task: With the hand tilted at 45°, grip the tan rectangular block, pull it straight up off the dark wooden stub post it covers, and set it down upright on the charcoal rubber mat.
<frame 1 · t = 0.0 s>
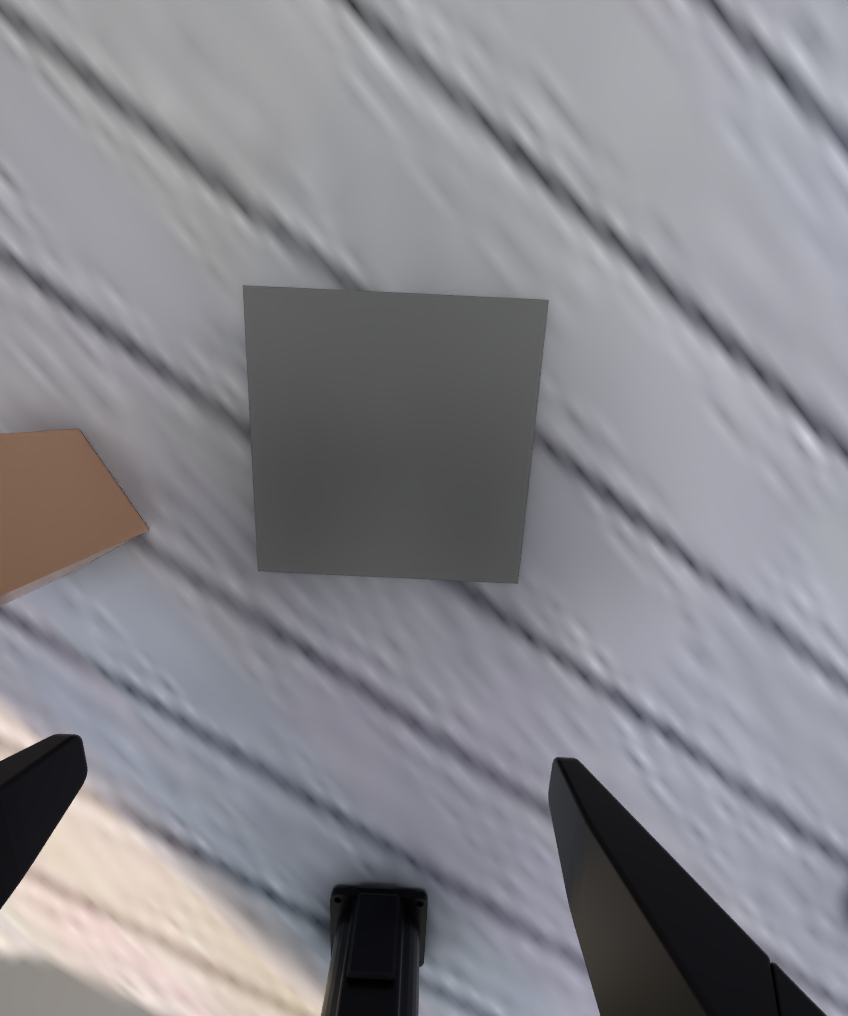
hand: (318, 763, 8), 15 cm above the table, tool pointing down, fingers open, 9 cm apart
tan rectangular block: (69, 506, 22), on the table
rubber mat: (392, 445, 21), on the table
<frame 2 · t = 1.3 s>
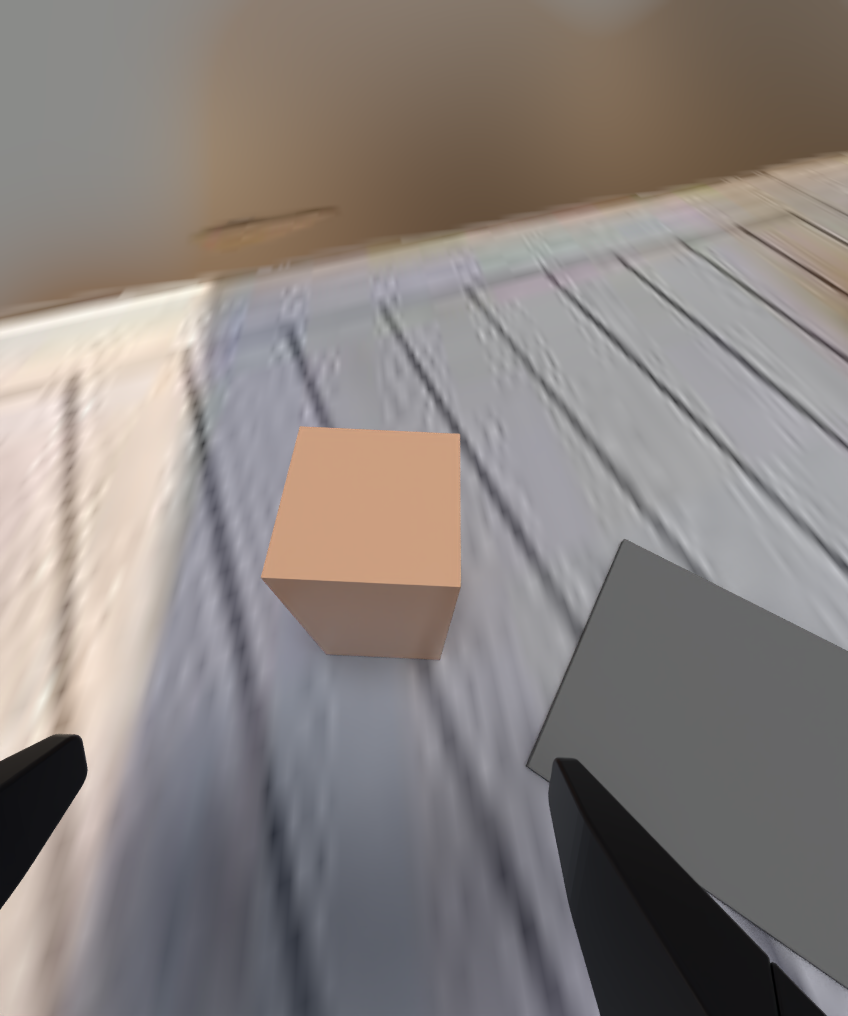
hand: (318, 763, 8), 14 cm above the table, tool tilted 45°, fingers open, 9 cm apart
tan rectangular block: (387, 601, 23), on the table
rubber mat: (711, 715, 21), on the table
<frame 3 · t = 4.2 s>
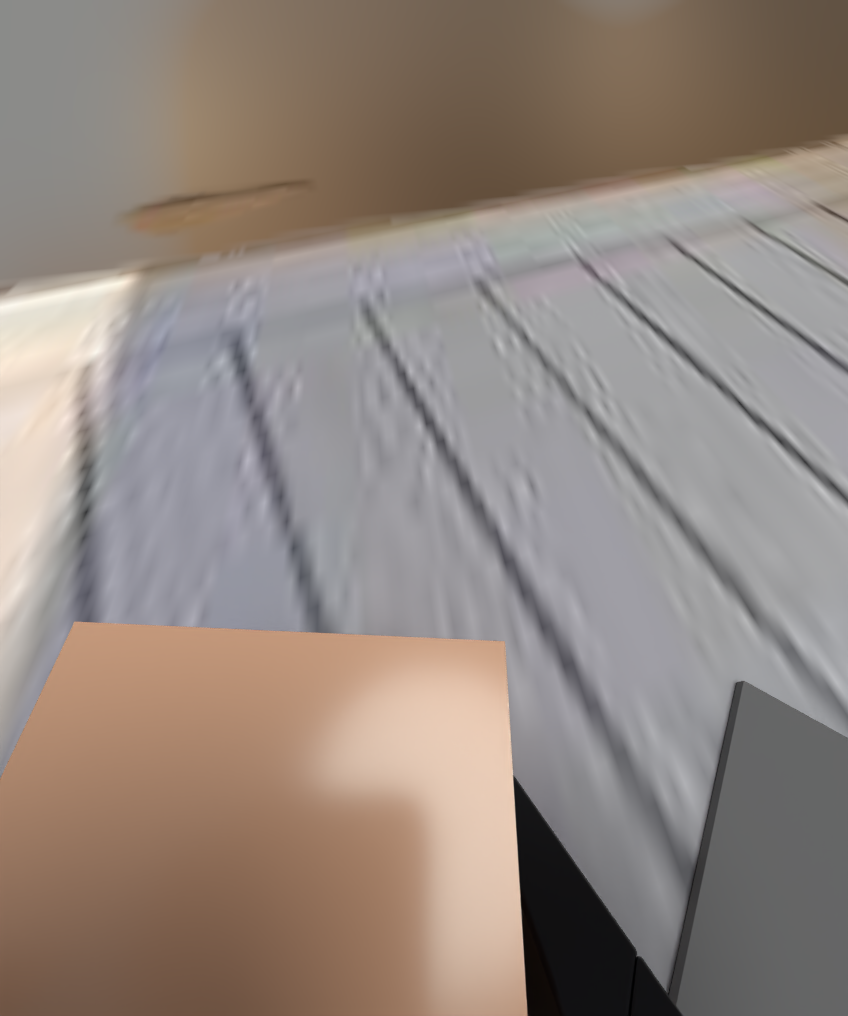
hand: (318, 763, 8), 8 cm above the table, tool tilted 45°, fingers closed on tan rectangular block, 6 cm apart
tan rectangular block: (355, 809, 14), on the table, touching gripper
when the fingers open (9 cm above the table, at t = 8.7 s): tan rectangular block drops 1 cm, resting on rubber mat.
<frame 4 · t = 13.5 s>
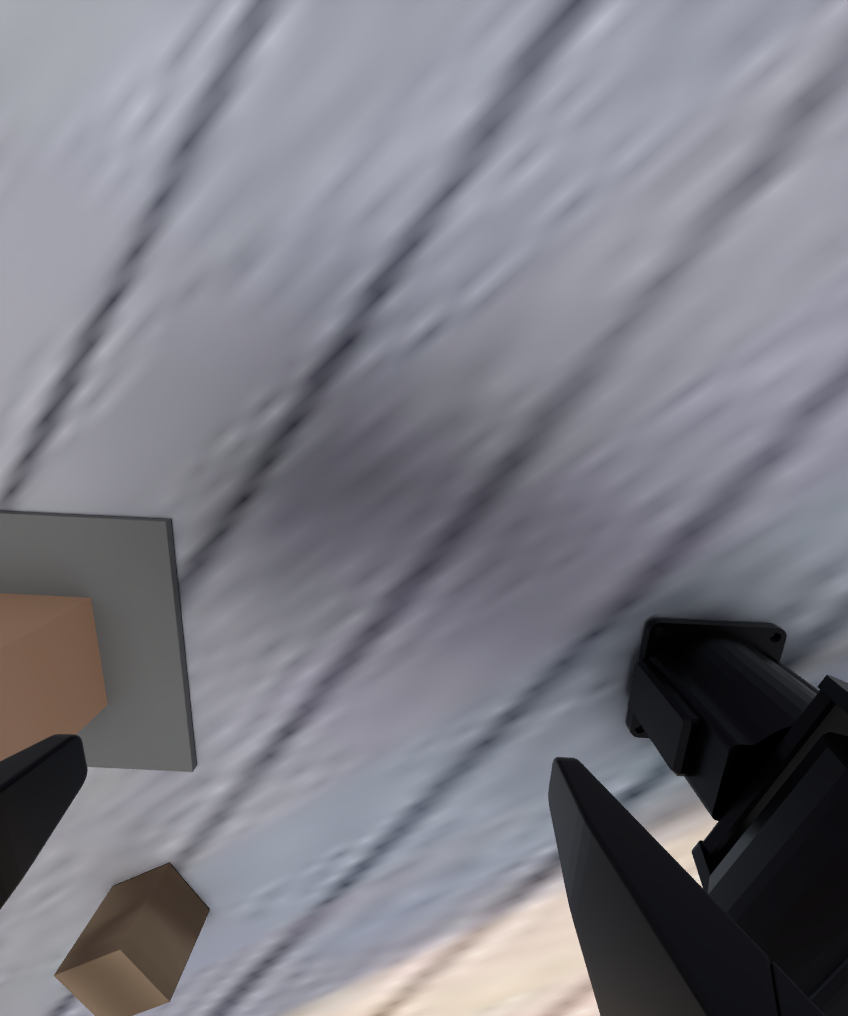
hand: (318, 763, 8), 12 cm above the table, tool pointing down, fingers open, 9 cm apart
stub post: (161, 898, 25), on the table
tan rectangular block: (39, 650, 21), resting on rubber mat
rubber mat: (46, 645, 21), on the table
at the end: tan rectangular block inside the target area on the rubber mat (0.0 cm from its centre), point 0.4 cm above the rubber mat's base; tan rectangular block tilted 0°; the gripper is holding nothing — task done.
